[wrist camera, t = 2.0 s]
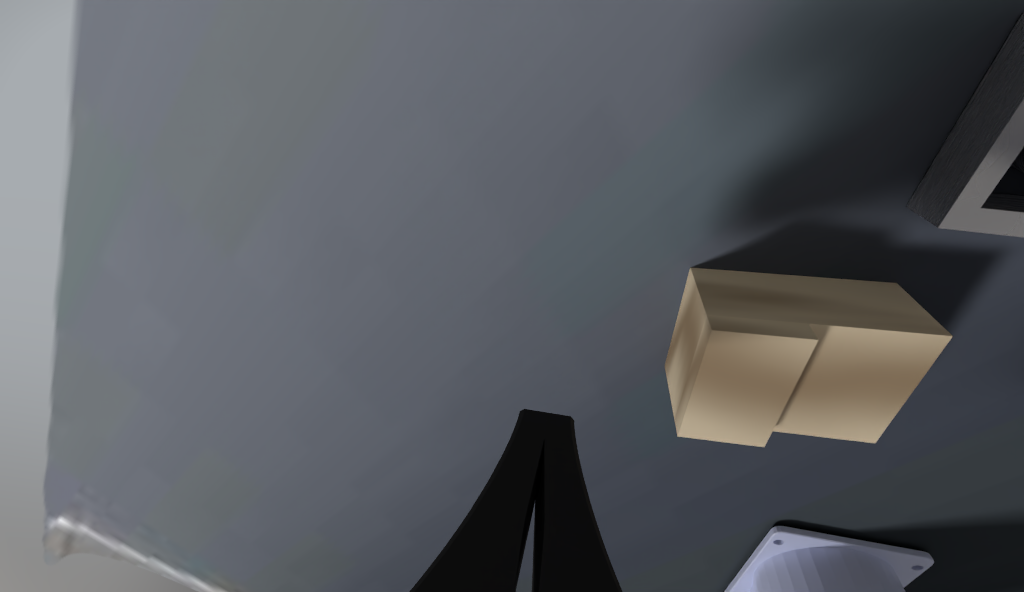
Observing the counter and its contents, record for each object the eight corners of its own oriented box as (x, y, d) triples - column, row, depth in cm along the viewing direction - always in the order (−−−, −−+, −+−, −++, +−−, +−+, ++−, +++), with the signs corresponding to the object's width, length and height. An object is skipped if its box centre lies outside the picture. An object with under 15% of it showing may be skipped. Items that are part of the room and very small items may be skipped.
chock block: (835, 380, 18) (887, 462, 15) (664, 362, 19) (677, 436, 16) (893, 279, 16) (971, 354, 12) (689, 264, 17) (711, 330, 13)
